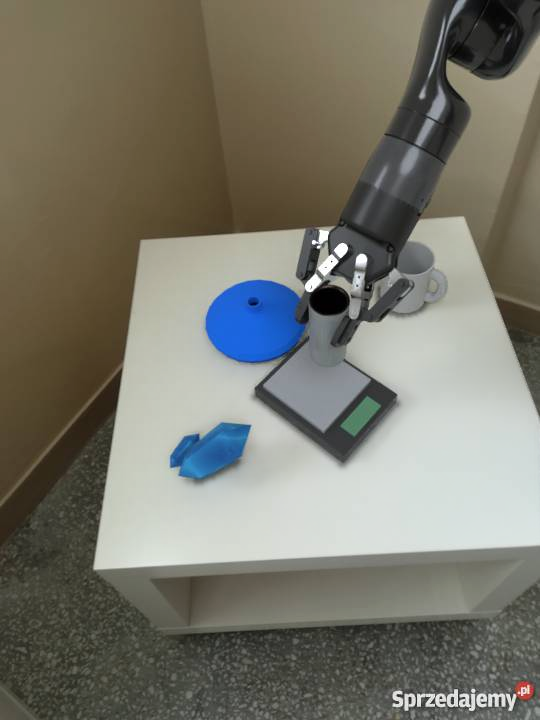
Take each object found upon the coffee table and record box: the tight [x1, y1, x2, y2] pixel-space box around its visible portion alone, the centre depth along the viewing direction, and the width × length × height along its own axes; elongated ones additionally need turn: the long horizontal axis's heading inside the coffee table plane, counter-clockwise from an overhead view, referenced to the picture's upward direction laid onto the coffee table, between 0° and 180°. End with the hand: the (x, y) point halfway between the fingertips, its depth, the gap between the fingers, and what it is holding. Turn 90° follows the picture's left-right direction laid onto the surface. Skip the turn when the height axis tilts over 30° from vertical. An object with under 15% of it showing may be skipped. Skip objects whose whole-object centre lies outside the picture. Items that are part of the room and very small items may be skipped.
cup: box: [379, 240, 449, 314], centre depth 81 cm, size 7×10×9 cm
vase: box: [205, 279, 307, 364], centre depth 81 cm, size 16×16×7 cm
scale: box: [254, 334, 398, 464], centre depth 75 cm, size 16×12×3 cm
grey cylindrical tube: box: [308, 284, 351, 367], centre depth 62 cm, size 4×4×10 cm
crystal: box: [169, 421, 252, 480], centre depth 69 cm, size 7×9×12 cm
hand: (318, 333), depth 61 cm, fingers closed on grey cylindrical tube, 4 cm apart
